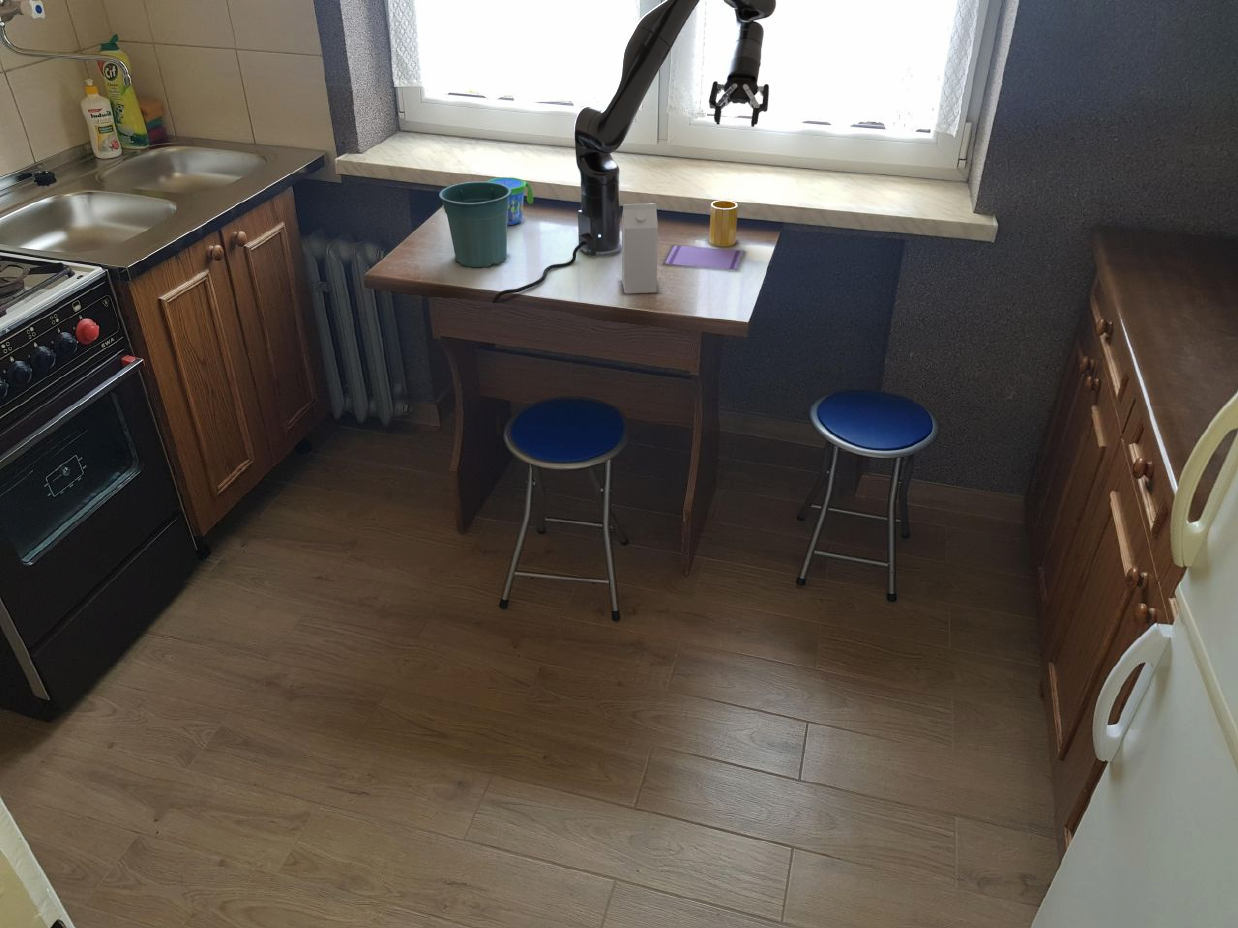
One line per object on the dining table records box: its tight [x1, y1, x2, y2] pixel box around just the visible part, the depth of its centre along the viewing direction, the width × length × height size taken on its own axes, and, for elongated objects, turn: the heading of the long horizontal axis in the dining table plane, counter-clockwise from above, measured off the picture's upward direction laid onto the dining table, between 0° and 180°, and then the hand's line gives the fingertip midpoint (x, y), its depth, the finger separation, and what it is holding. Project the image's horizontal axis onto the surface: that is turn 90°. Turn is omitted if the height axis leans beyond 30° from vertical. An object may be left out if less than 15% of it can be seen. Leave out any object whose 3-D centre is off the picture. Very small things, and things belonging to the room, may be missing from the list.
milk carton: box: [621, 202, 659, 294], centre depth 208 cm, size 7×7×19 cm
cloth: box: [664, 244, 744, 271], centre depth 228 cm, size 17×12×1 cm
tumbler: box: [708, 199, 739, 247], centre depth 234 cm, size 6×6×10 cm
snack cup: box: [485, 176, 534, 227], centre depth 246 cm, size 16×10×10 cm
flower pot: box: [438, 181, 511, 268], centre depth 224 cm, size 16×16×16 cm
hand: (735, 124), depth 232 cm, fingers open, 8 cm apart
